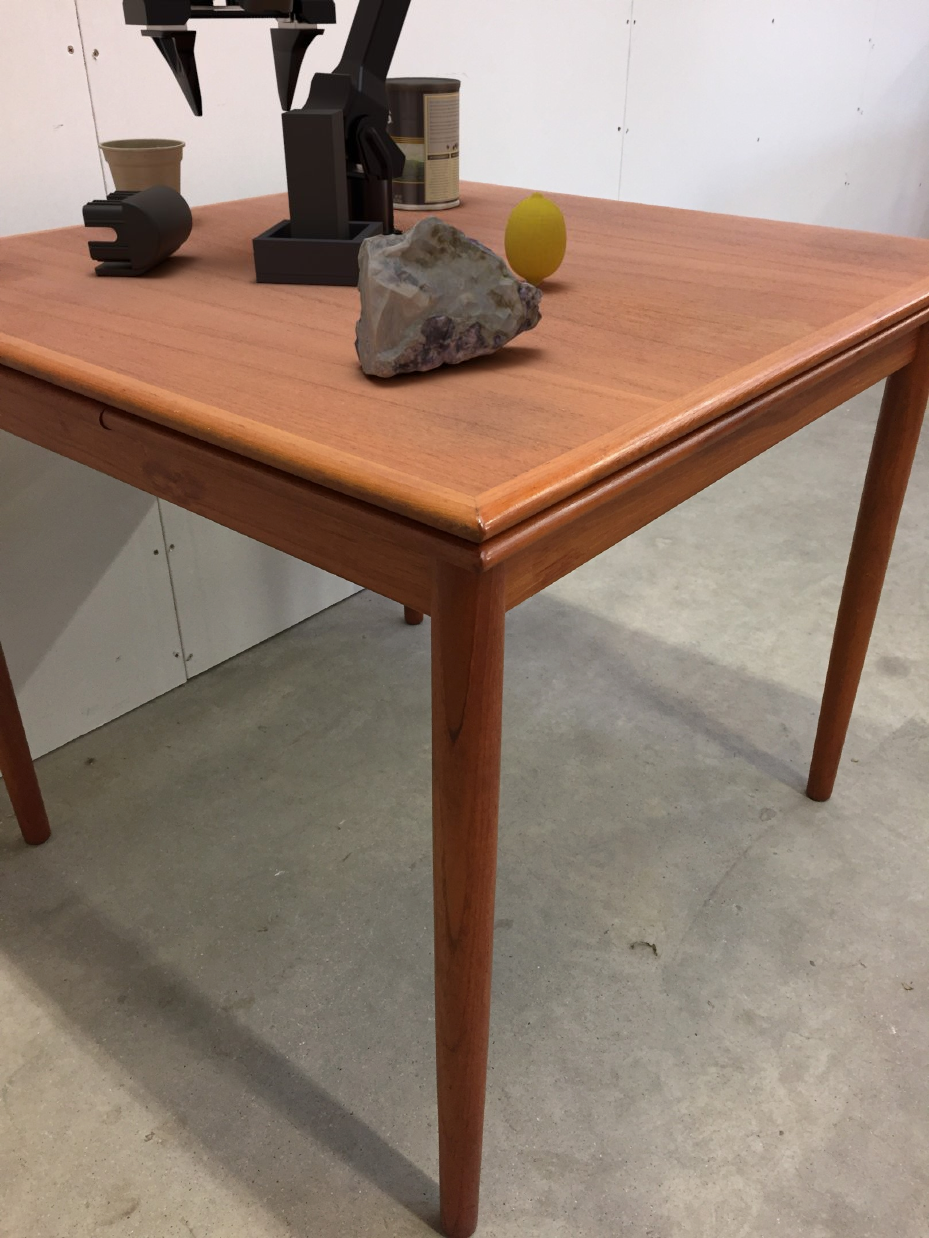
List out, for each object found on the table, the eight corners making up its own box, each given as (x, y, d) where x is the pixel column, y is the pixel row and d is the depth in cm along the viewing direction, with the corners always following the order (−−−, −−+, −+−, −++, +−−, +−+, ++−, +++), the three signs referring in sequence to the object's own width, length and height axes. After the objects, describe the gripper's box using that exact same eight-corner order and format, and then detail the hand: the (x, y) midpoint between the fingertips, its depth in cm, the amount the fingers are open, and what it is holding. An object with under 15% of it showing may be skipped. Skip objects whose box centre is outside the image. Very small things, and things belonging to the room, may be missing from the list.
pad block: (305, 257, 98) (294, 109, 92) (350, 258, 98) (342, 109, 91) (293, 267, 95) (281, 113, 88) (340, 268, 94) (331, 114, 87)
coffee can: (384, 212, 124) (379, 83, 116) (377, 198, 133) (372, 77, 125) (466, 210, 125) (467, 82, 118) (454, 196, 134) (453, 76, 127)
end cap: (165, 278, 94) (154, 201, 90) (91, 277, 94) (77, 200, 91) (198, 255, 102) (188, 184, 99) (130, 254, 103) (118, 183, 99)
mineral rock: (542, 346, 76) (548, 203, 71) (535, 392, 67) (541, 233, 61) (373, 340, 77) (367, 200, 72) (344, 385, 68) (334, 228, 63)
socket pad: (287, 259, 101) (283, 219, 99) (384, 262, 100) (382, 222, 98) (256, 282, 93) (251, 239, 91) (362, 286, 92) (360, 242, 90)
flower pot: (212, 222, 118) (203, 141, 113) (151, 236, 111) (138, 150, 107) (156, 214, 122) (144, 136, 118) (94, 227, 115) (79, 144, 111)
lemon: (570, 282, 93) (575, 189, 89) (555, 296, 89) (560, 199, 84) (513, 277, 95) (515, 186, 90) (495, 291, 90) (497, 195, 86)
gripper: (158, -98, 77) (186, 127, 86) (363, -86, 87) (371, 115, 95) (105, -89, 85) (136, 116, 93) (300, -79, 95) (312, 106, 103)
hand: (243, 113), depth 96 cm, fingers open, 9 cm apart
